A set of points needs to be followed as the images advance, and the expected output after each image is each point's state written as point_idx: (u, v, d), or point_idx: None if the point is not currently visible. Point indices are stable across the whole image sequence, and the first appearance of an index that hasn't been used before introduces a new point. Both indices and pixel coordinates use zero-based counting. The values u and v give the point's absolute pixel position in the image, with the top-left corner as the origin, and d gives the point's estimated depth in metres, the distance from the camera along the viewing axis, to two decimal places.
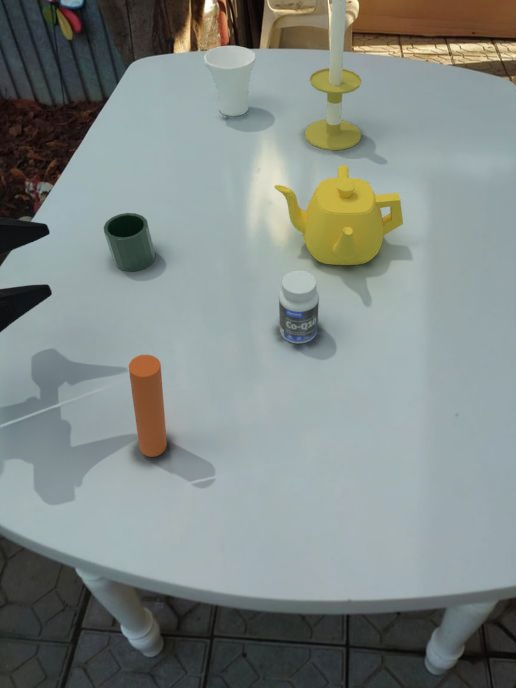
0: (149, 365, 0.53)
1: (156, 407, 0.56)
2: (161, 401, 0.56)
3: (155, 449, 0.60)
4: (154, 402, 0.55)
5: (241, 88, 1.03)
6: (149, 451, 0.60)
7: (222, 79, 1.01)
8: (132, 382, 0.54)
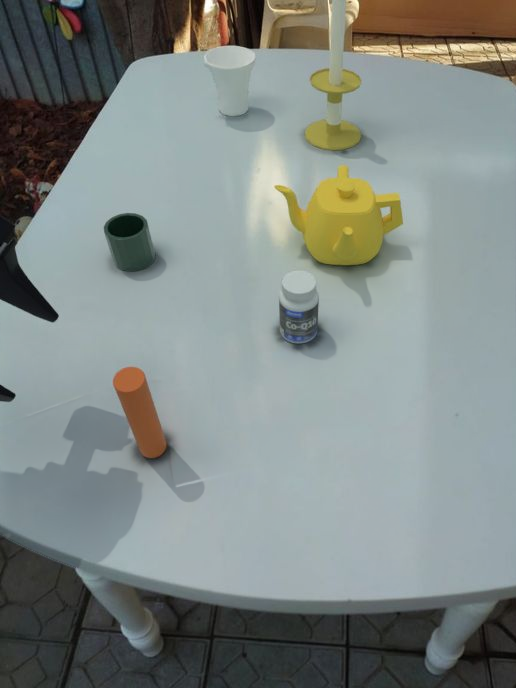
0: (133, 378, 0.52)
1: (147, 416, 0.55)
2: (152, 409, 0.56)
3: (154, 451, 0.60)
4: (144, 412, 0.55)
5: (241, 88, 1.03)
6: (149, 453, 0.60)
7: (222, 79, 1.01)
8: (118, 396, 0.53)
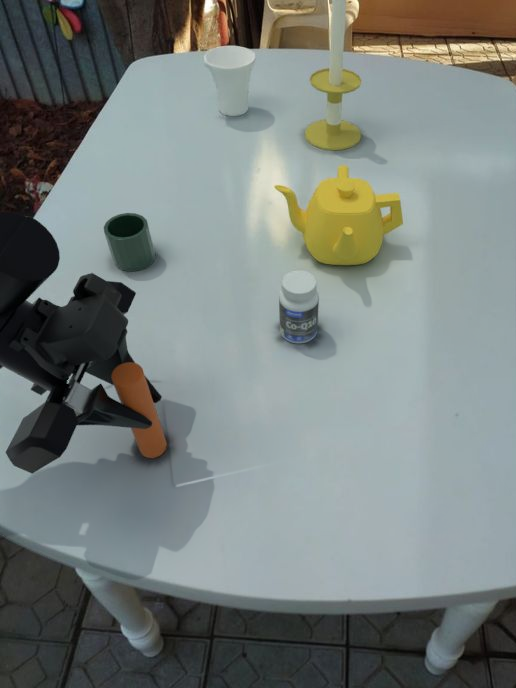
0: (131, 373, 0.53)
1: (146, 412, 0.56)
2: (151, 406, 0.56)
3: (154, 451, 0.60)
4: (143, 408, 0.55)
5: (241, 88, 1.03)
6: (149, 453, 0.60)
7: (222, 79, 1.01)
8: (117, 391, 0.53)
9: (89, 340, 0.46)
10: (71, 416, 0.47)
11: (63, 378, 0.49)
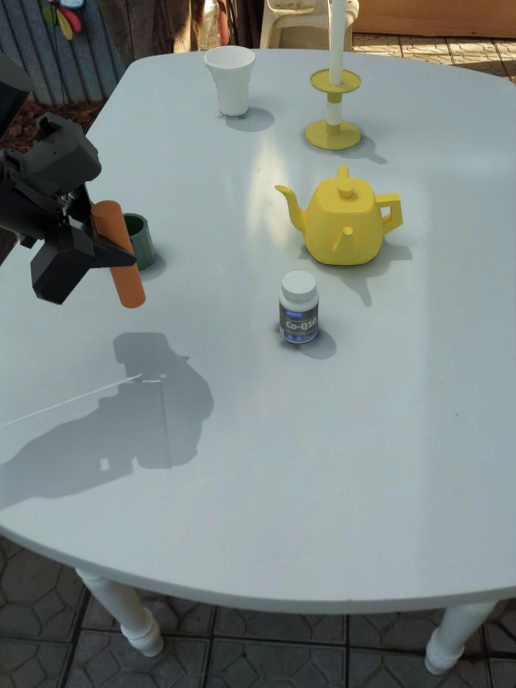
0: (109, 207, 0.57)
1: (129, 249, 0.60)
2: (130, 243, 0.61)
3: (139, 297, 0.65)
4: (126, 243, 0.59)
5: (241, 88, 1.03)
6: (135, 301, 0.65)
7: (222, 79, 1.01)
8: (101, 228, 0.57)
9: (80, 156, 0.50)
10: (84, 235, 0.51)
11: (57, 212, 0.52)
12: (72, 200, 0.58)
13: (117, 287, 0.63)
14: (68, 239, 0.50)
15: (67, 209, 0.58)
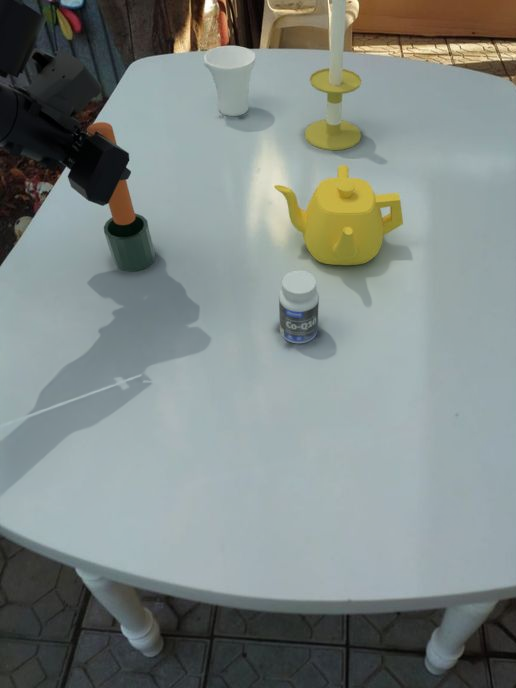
0: (102, 126, 0.66)
1: None
2: None
3: (132, 212, 0.75)
4: None
5: (241, 88, 1.03)
6: (130, 216, 0.74)
7: (222, 79, 1.01)
8: None
9: (87, 73, 0.60)
10: None
11: (75, 130, 0.61)
12: None
13: (114, 205, 0.73)
14: (103, 142, 0.59)
15: None
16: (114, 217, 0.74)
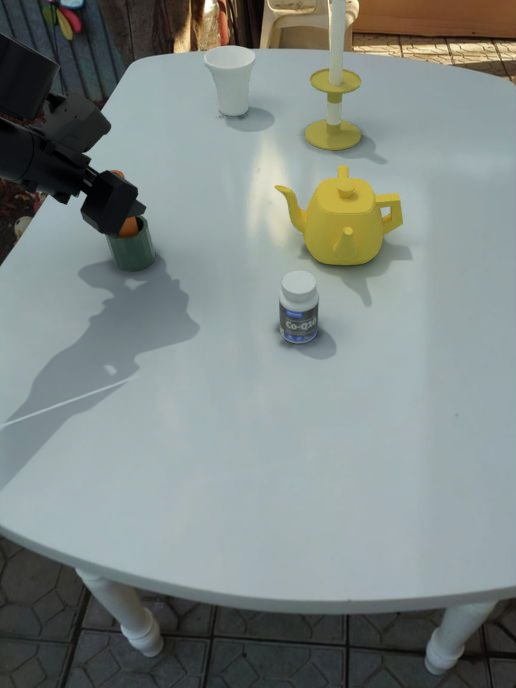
0: None
1: None
2: None
3: None
4: None
5: (241, 88, 1.03)
6: None
7: (222, 79, 1.01)
8: None
9: (98, 113, 0.63)
10: (118, 175, 0.65)
11: (86, 166, 0.65)
12: None
13: None
14: (114, 178, 0.63)
15: None
16: None
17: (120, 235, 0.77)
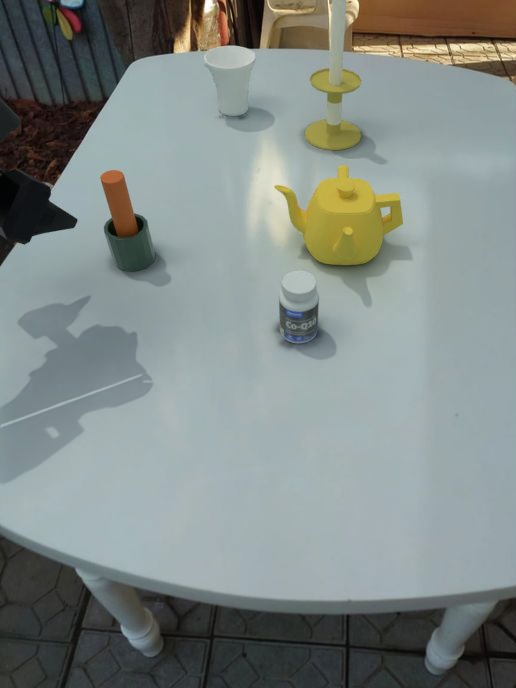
0: (114, 174, 0.72)
1: None
2: (130, 203, 0.75)
3: None
4: (130, 202, 0.74)
5: (241, 88, 1.03)
6: None
7: (222, 79, 1.01)
8: (113, 192, 0.72)
9: (2, 106, 0.56)
10: (29, 175, 0.57)
11: None
12: None
13: None
14: (21, 176, 0.55)
15: None
16: None
17: (120, 235, 0.77)
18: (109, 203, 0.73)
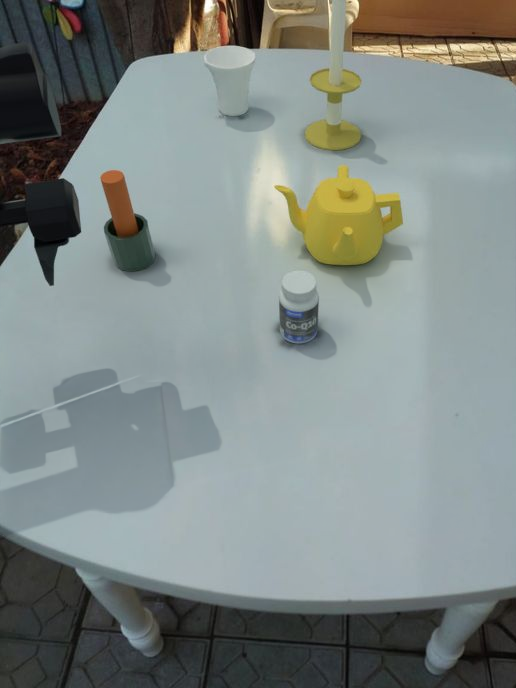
0: (114, 174, 0.72)
1: None
2: (130, 203, 0.75)
3: None
4: (130, 202, 0.74)
5: (241, 88, 1.03)
6: None
7: (222, 79, 1.01)
8: (113, 192, 0.72)
9: None
10: None
11: None
12: None
13: None
14: None
15: None
16: None
17: (120, 235, 0.77)
18: (109, 203, 0.73)
